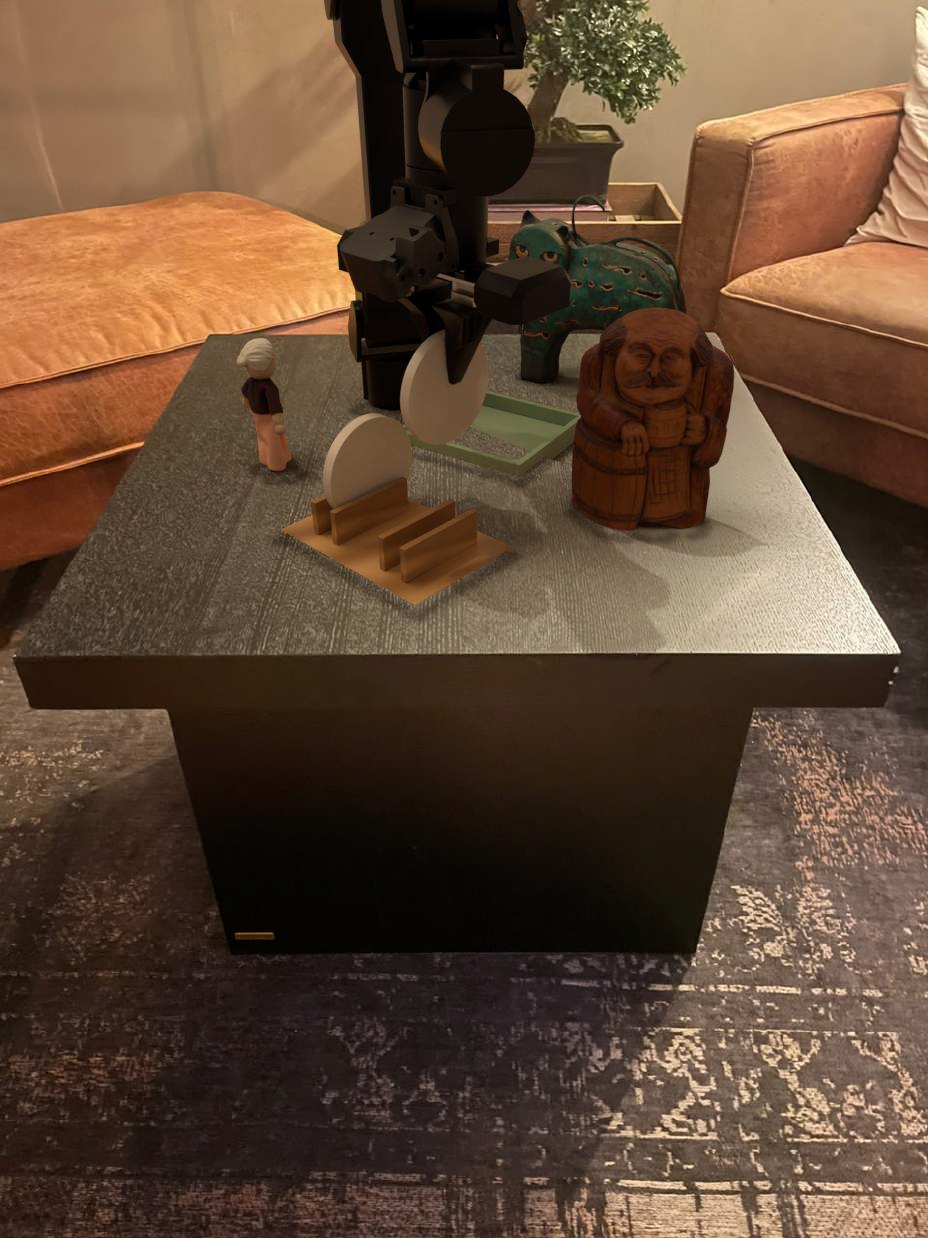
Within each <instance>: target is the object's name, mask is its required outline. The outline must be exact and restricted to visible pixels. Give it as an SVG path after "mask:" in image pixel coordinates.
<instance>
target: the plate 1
mask: <svg viewBox="0 0 928 1238" xmlns="http://www.w3.org/2000/svg"><path fill="white" fill-rule="evenodd" d="M412 464H413V446H412V445H411V441H410V438H409V435H408V433H407V431H406V429H405V428H404V427H403V423H401V422H399V421H398V420H396V419H395V418H393V417H391V416H388V415H386V414H384V413H380V412H379V413H378V412H371V413H370V412H369V413H366V414H362V415H360V416H358V417H356V418H354V419H353V420H351V421H350V422H349V423H347V424H346V425H345V426H344V427H343V428H342V429H341V430H340V431H339V433H338V434H337V435H336V437H335V439H334V440H333V441H332V443H331V445H330V448H329V449H328V452H327V455H326V458H325V460H324V465H323V471H322V487H323V488H322V489H323V493H324V495H325V497H326V499H327V501H328V503H329V505H330V506H331V508H332V509H336V508H338V507H340V506H342V505H344V504H346V503H348V502H350V501H352V500H355V499H357V498H359V497H361V496H363V495H365V494H367V493H369V492H371V491H373V490H376V489H378V488H380V487H382V486H384V485H386V484H388V483H390V482H392V481H395V480H397V479H399V478H401V477H404V478H406V479H407V481H409V477H410V474H411V469H412Z"/></svg>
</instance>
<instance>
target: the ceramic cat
mask: <svg viewBox="0 0 928 1238" xmlns="http://www.w3.org/2000/svg"><path fill="white" fill-rule="evenodd" d="M584 199H589V200H591V201H593V202H594V203H595V204H597V206H598V207H599V208H600V209H601V211H602V212H603V213H605V211H606V207H605V204H604V203H603V202H602V200H600V198H599V197H597V196H595V195H593V194H583V195H580V196H579V197H577V198H576V199H575V201H574V203H573V205H572V211H571V224H569V223H568V222H567V221H564V220H562V219H560V218H556V217H550V218H546V219H545V218H544V219H542V220H540V219H539V218H537V217H536V216H535V214H534V213H533V212H532V211H530V210H529V209H526V210H525V212H523V215H522V218H521V221H520V224H519V225H520V226H519V228H518V229H517V231H516V232H515V233H514V234H513V236H512V237H511V240H510V242H509V251H508V252H509V254H508V255H509V257H508V258H509V261H511V260H514V259H517V258H520V257H523V256H527V257H531V258H535V259H538V260H542V261H546V262H550V263H554V264H557V265H561V266H563V268H564V269H565V270H566V272H567V273H568V275H569V276H570V282H571V287H570V301H569V307H567V308H564V309H562V310H559V311H556V312H554V313H551V314H549V315H546V316H544V317H541V318H538V319H536V320H533V321H531V322H528V323H525V324H523V325H522V329H521V332H520V337H519V344H520V354H521V355H520V373H519V374H520V375H519V378H520V379H522V380H526V381H532V382H536V383H539V384H540V383H546V382H548V381H550V380H551V379H553V377H555V376H556V375H558V374H559V370H560V356H561V353H562V352H561V351H562V348H563V345H564V343H566V341H567V339H568V337H569V335H570V334H571V332H575V331H583V330H596V331H602V332H603V331H604V330H605V329H606V328H608V327H609V326H610V325H611V324H612V323H613V322H614V321H616V320H617V319H619V318H621V317H623V316H624V315H626V314H628V313H630V312H633V311H635V310H639V309H645V308H667V309H673V310H677V311H680V312H682V313H684V314H686V315H688V312H687V306H686V299H685V293H684V290H683V287H682V283H681V282H682V281H681V275H680V270H679V268H678V265H677V263H676V261H675V259H674V258H673V256H672V255H671V254H670V252H669V251H668V250H667V249H666V248H665V247H662V246H661V245H659V244H657V243H655V242H653V241H651V240H648V239H645V238H641V237H638V236H637V237H636V236H630V235H629V236H621V237H616V238H613V239H607V240H602V241H597V242H593V241H590V240H588V239H586V238H584V237H583V236H582V235H581V234H580V233H578V231H577V230H576V229H577V228H576V221H575V213H576V212H575V211H576V207H577V205H578V203H579V202H580V201H582V200H584ZM628 241H629V242H635V243H639V244H642V245H644V246H646V247H648V248H652V249H654V250H656V251H658V252H659V253H660V254H661V255H662V256H664V258H665V259H666V260H667V261H668V263H669V264H670V265H671V266H672V268H673V269H672V268H671V267H670V266H669V265H668V264H667V263H666V262H665V261H664V260H663V259H662V258H661V257H659V255H657V254H655V253H653V252H651V251H649V250H647V249H644V248H641V247H639V246H637V245H632V244H628V243H623V242H628ZM673 270H674V271H673ZM674 272H675V273H674Z"/></svg>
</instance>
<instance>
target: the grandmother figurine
mask: <svg viewBox="0 0 928 1238" xmlns="http://www.w3.org/2000/svg"><path fill="white" fill-rule="evenodd" d="M273 354H274V348H273V344H272V343H271V342H270V341H269V340H268V339H267V338H264V337H260V338H253V339H251V340H249V341H248V342H247V343H245V344H244V346H243V348H242V349H241V351H240V353H239V355H238V356H237V359H236V361H235V362H236V365H237V366H238V367H240V368H246V371H247V373H248V375H250V377H248V378H247V379H246V380H245V381H244V383H243V385H242V386H241V389H240V391H241V394H242V401H241V403H242V406H243V407H245V408H246V409H247V408H248V409H249V408H250V410H251V412H252V415H253V419H254V423H255V430H256V435H257V446H258V458H259V462H260V464H262V465H264V466H267V468H268V469H269V471H273V472H281V471H284V470H286V468H287V463H289V462H290V461H291V460H292V459H293V457H292V452H291V448H290V444H289V441H288V437H287V434H286V433H287V427H286V425H285V417H284V409H283V405H282V403H281V399H280V389H279V387H278V385H276V383H275V382H274V381H273V380H272V378H271V377H272V376H273V375H274V373H275V371H276V366H277V365H276V360H275V357H274V356H273Z"/></svg>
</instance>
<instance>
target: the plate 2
mask: <svg viewBox="0 0 928 1238" xmlns="http://www.w3.org/2000/svg"><path fill="white" fill-rule="evenodd" d="M489 372H490V369H489V360H488V355H487V352H486V350H485V348H484V346H483V344H482V343H481V342H480V343H479V346H478V348H477V350H476V352H475V354H474V356H473V358H472V360H471V362H470V364H469V367H468V369H467V371H466V373H465V375H464V377H463V379H462V381H461V382H459V383H457V384H454V385H452V384H450V383H449V379H448V373H447V365H446V344H445V330H441V331H439V332H436V333H435V334H433V335H431V336H430V337H429V338H427V339H426V340H425V341H424V342H423V343H422V344H421V345H420V347H419V348H418V349H417V350H416V352H415V353H414V355H413V357H412V358H411V360H410V362H409V364H408V367H407V369H406V371H405V374H404V377H403V382H402V386H401V393H400V408H401V410H400V414H401V418H402V421H403V424H404V423H405V426H406V427H407V429H408V430H409V432H410V433H411V434H412V435H413V436H414V437H416V438H417V439H419V440H421V441H423V442H426V443H428V444H431V445H444V444H447V443H453V442H454V441H455V440H457V439H458V438H460V437H461V436H462V435H463V434H464V433H465V432H466V431H467V430H468V429H469V428H471V427H470V425H471V424H472V423H473V421H474V420H475V418H476V416H477V415H478V413H479V411H480V409H481V406H482V404H483V401H484V398H485V395H486V391H488V385H489V377H490V373H489Z"/></svg>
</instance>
